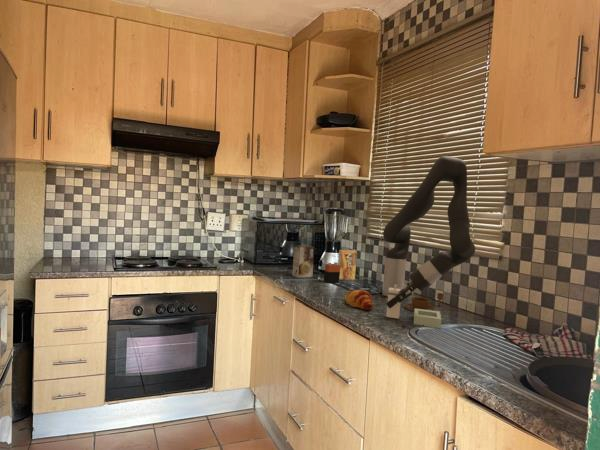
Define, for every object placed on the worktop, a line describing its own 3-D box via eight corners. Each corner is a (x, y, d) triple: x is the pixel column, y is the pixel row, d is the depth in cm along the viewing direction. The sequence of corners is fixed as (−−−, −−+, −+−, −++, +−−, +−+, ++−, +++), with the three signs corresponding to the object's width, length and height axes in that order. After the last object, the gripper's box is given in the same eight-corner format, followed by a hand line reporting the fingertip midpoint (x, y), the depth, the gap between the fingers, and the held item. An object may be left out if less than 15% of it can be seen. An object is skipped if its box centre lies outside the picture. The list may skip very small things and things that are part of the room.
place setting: (396, 305, 186) (397, 291, 186) (439, 306, 190) (441, 292, 190) (416, 316, 169) (417, 301, 169) (463, 317, 173) (464, 302, 173)
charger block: (386, 313, 166) (389, 283, 165) (399, 315, 164) (402, 284, 164) (386, 316, 161) (388, 285, 160) (399, 318, 160) (401, 286, 159)
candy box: (351, 278, 241) (354, 250, 240) (354, 279, 237) (357, 251, 236) (336, 278, 238) (338, 249, 237) (339, 279, 234) (341, 250, 233)
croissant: (341, 307, 187) (334, 290, 186) (361, 296, 190) (354, 279, 188) (364, 320, 167) (356, 301, 166) (385, 307, 170) (378, 289, 168)
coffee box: (306, 275, 240) (308, 245, 239) (312, 277, 235) (315, 246, 234) (291, 275, 235) (294, 245, 234) (297, 277, 230) (300, 246, 229)
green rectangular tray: (413, 316, 167) (414, 308, 166) (438, 319, 164) (439, 311, 164) (413, 324, 155) (414, 315, 155) (440, 327, 153) (441, 319, 153)
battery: (339, 283, 223) (341, 263, 223) (327, 283, 221) (328, 263, 220) (335, 281, 227) (336, 262, 227) (323, 281, 225) (325, 261, 224)
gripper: (418, 265, 167) (382, 292, 170) (418, 270, 153) (380, 300, 157) (431, 280, 166) (395, 308, 169) (433, 287, 152) (394, 317, 156)
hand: (388, 304), depth 163 cm, fingers closed on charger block, 4 cm apart
